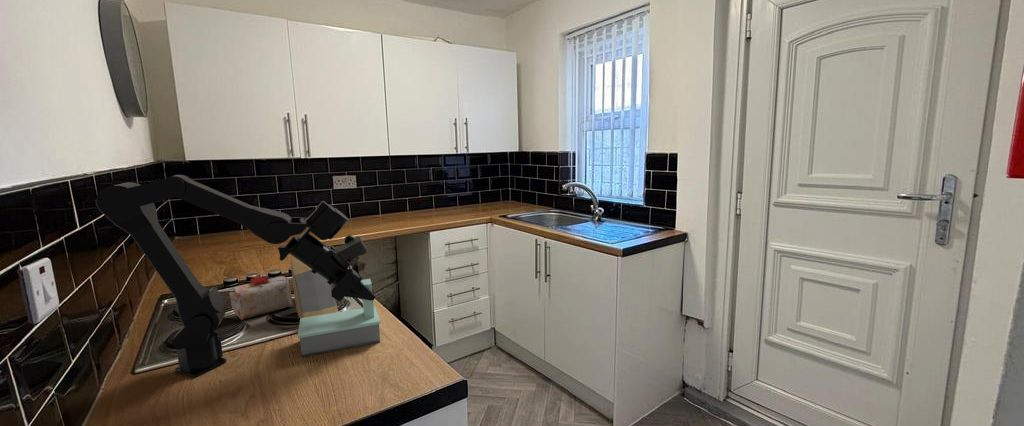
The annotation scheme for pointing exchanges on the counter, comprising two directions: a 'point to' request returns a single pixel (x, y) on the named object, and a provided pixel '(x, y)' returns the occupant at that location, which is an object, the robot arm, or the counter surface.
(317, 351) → the box
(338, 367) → the counter surface
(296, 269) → the sandwich container
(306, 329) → the lid
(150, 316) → the counter surface
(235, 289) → the food item
